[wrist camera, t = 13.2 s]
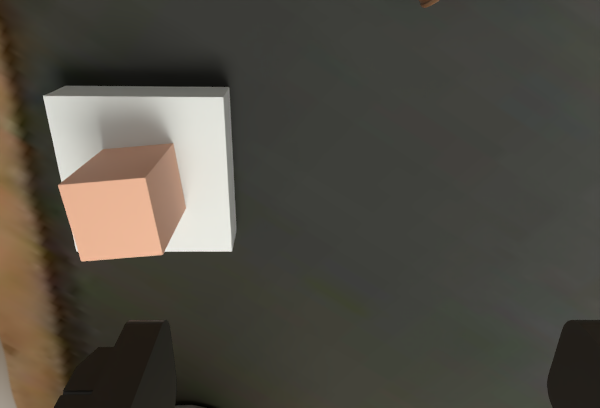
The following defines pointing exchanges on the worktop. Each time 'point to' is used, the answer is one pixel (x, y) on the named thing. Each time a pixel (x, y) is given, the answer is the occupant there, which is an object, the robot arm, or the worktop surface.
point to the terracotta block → (124, 202)
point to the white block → (152, 131)
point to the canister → (188, 406)
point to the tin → (427, 3)
